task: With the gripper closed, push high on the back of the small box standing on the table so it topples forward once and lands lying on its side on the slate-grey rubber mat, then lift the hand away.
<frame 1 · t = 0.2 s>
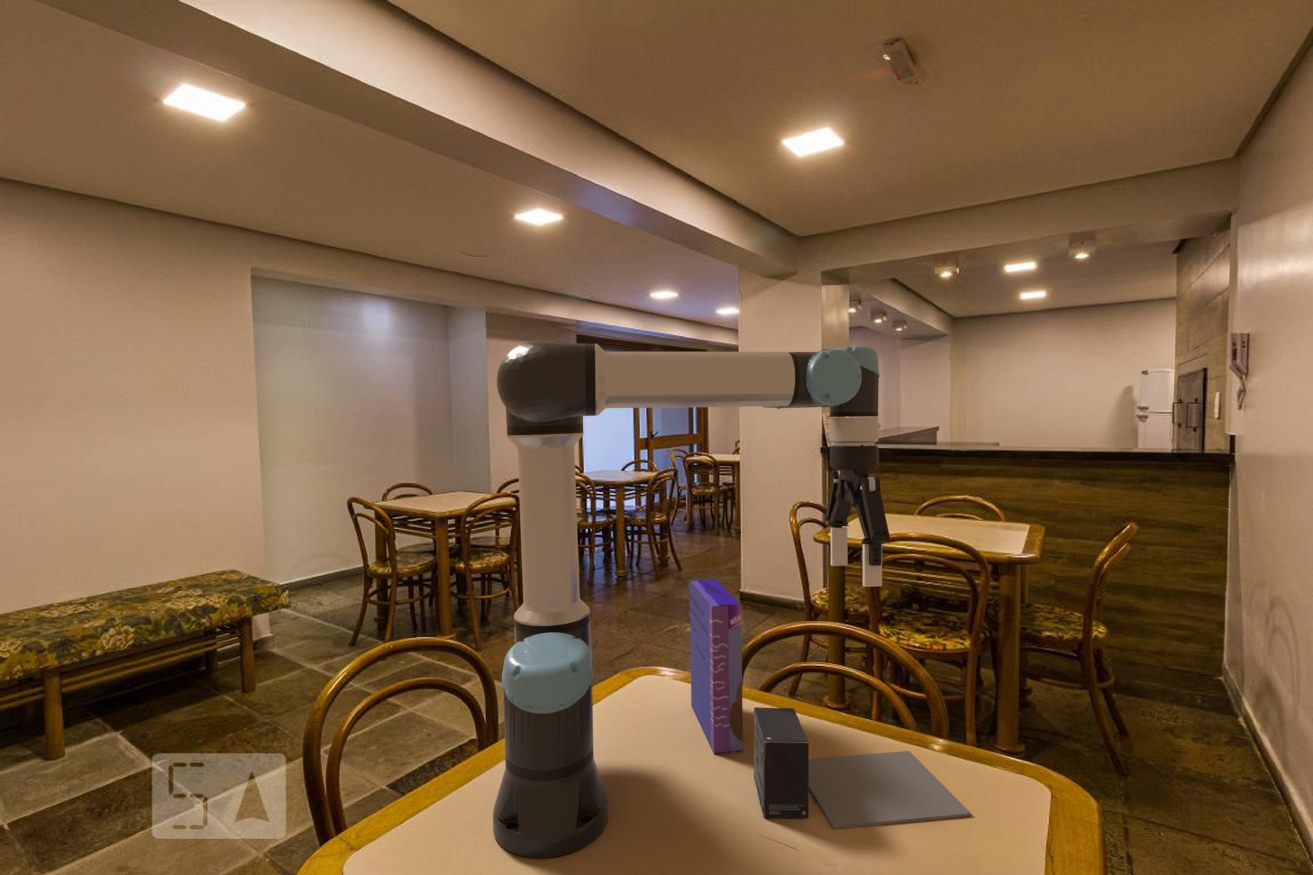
hand: (854, 575, 103), 28 cm above the table, tool pointing down, fingers open, 13 cm apart
cereal box: (715, 728, 110), on the table
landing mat: (875, 787, 91), on the table
small box: (780, 797, 89), on the table
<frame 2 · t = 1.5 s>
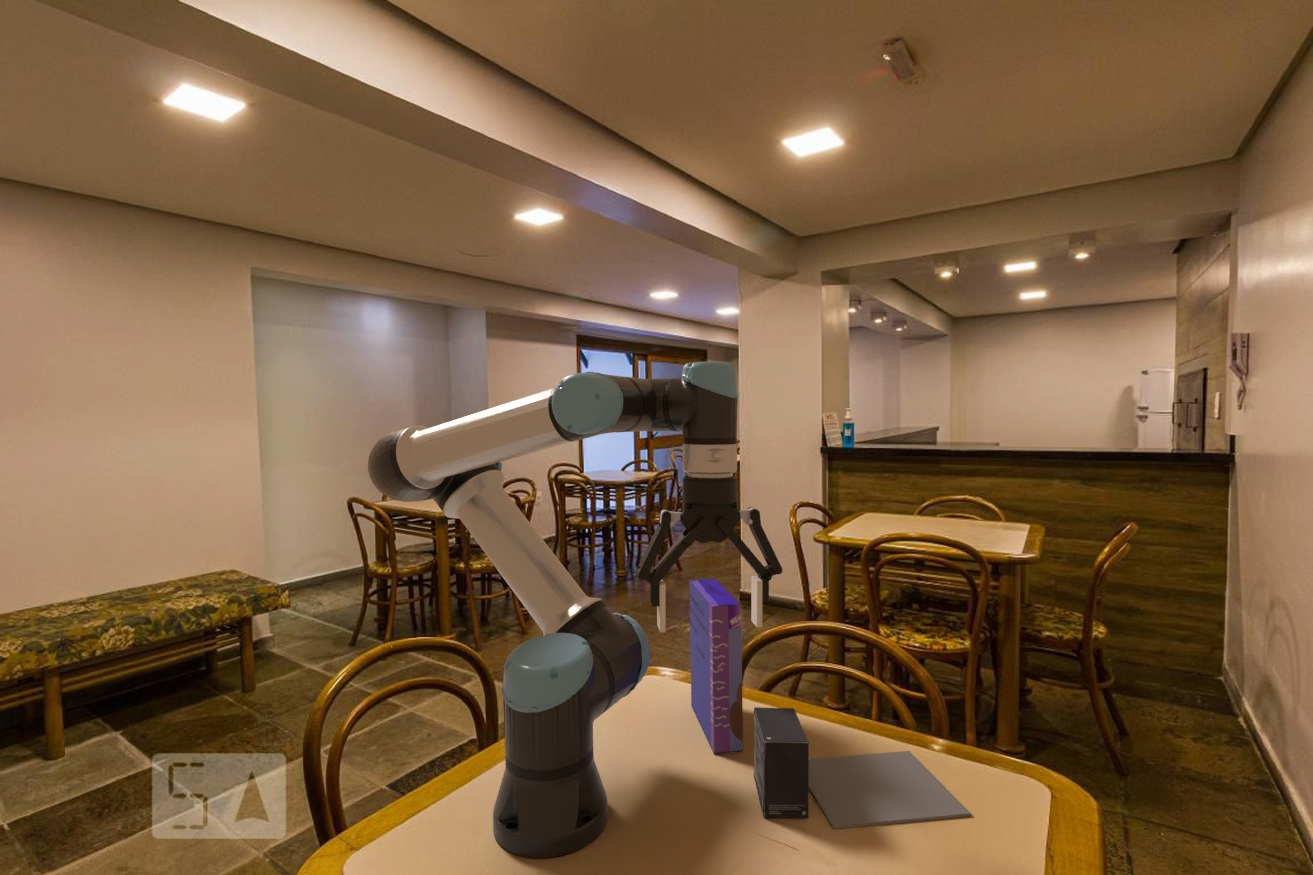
hand: (709, 626, 88), 24 cm above the table, tool pointing down, fingers open, 13 cm apart
nothing on the table moved.
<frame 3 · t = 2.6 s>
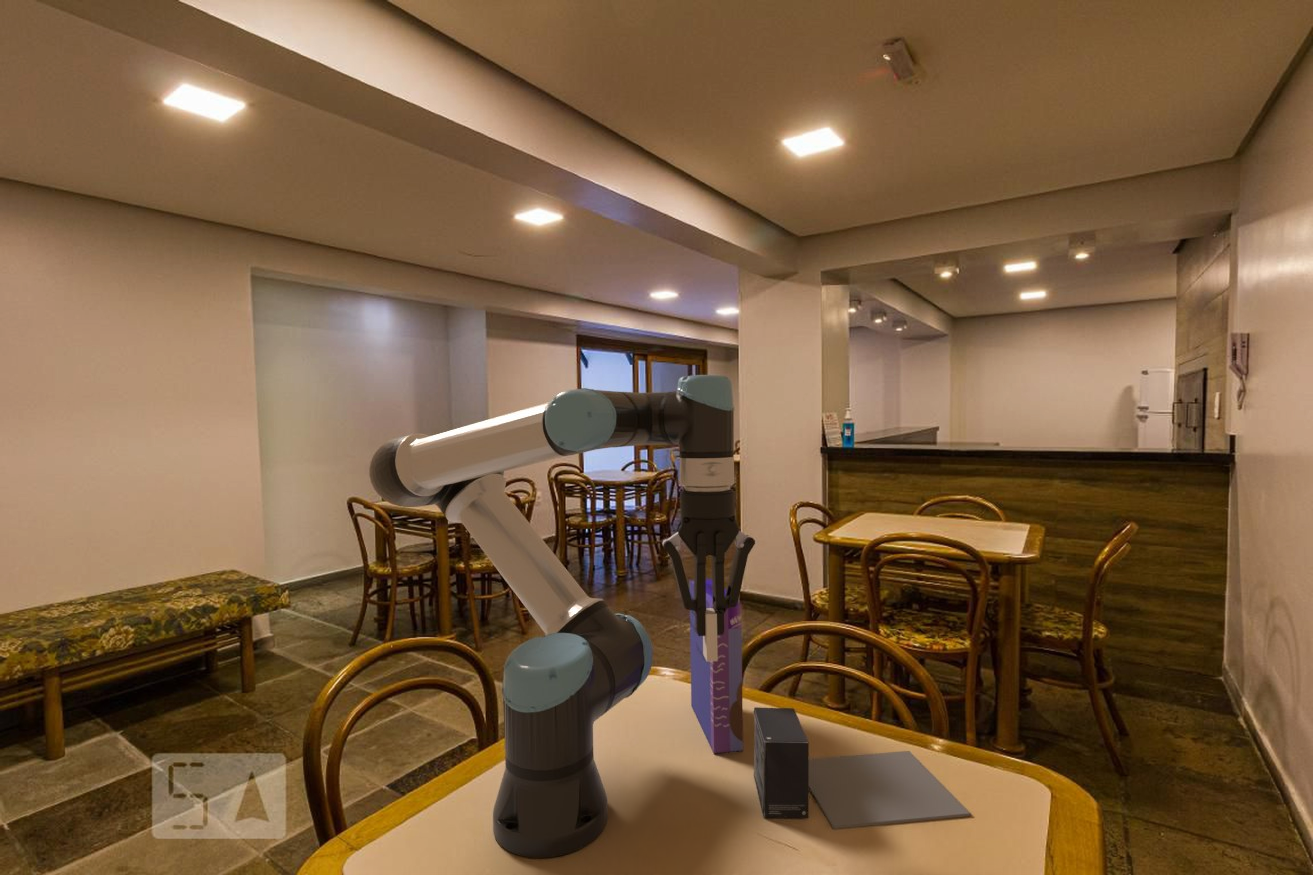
hand: (710, 657, 88), 20 cm above the table, tool pointing down, fingers closed
nothing on the table moved.
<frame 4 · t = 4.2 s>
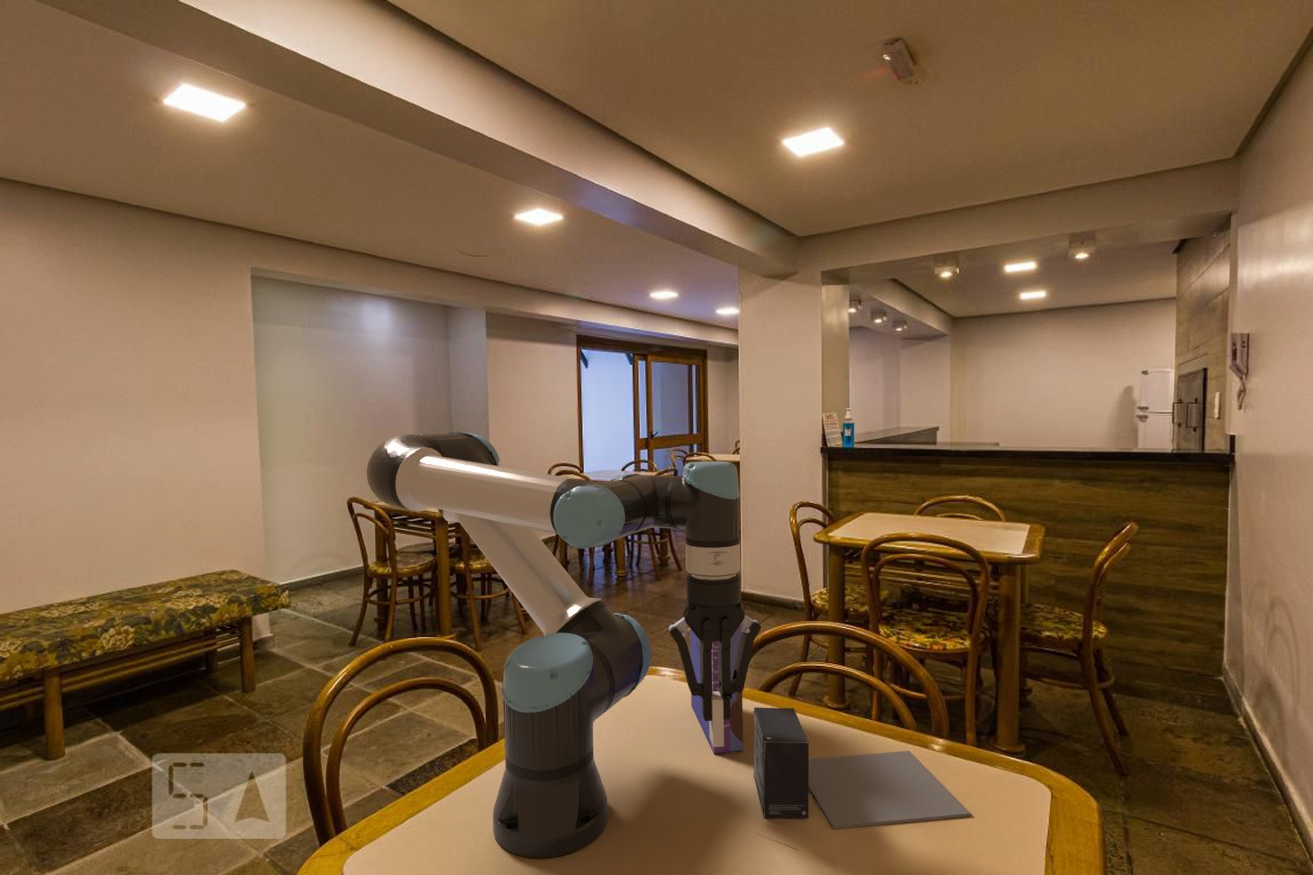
hand: (716, 741, 88), 9 cm above the table, tool pointing down, fingers closed
nothing on the table moved.
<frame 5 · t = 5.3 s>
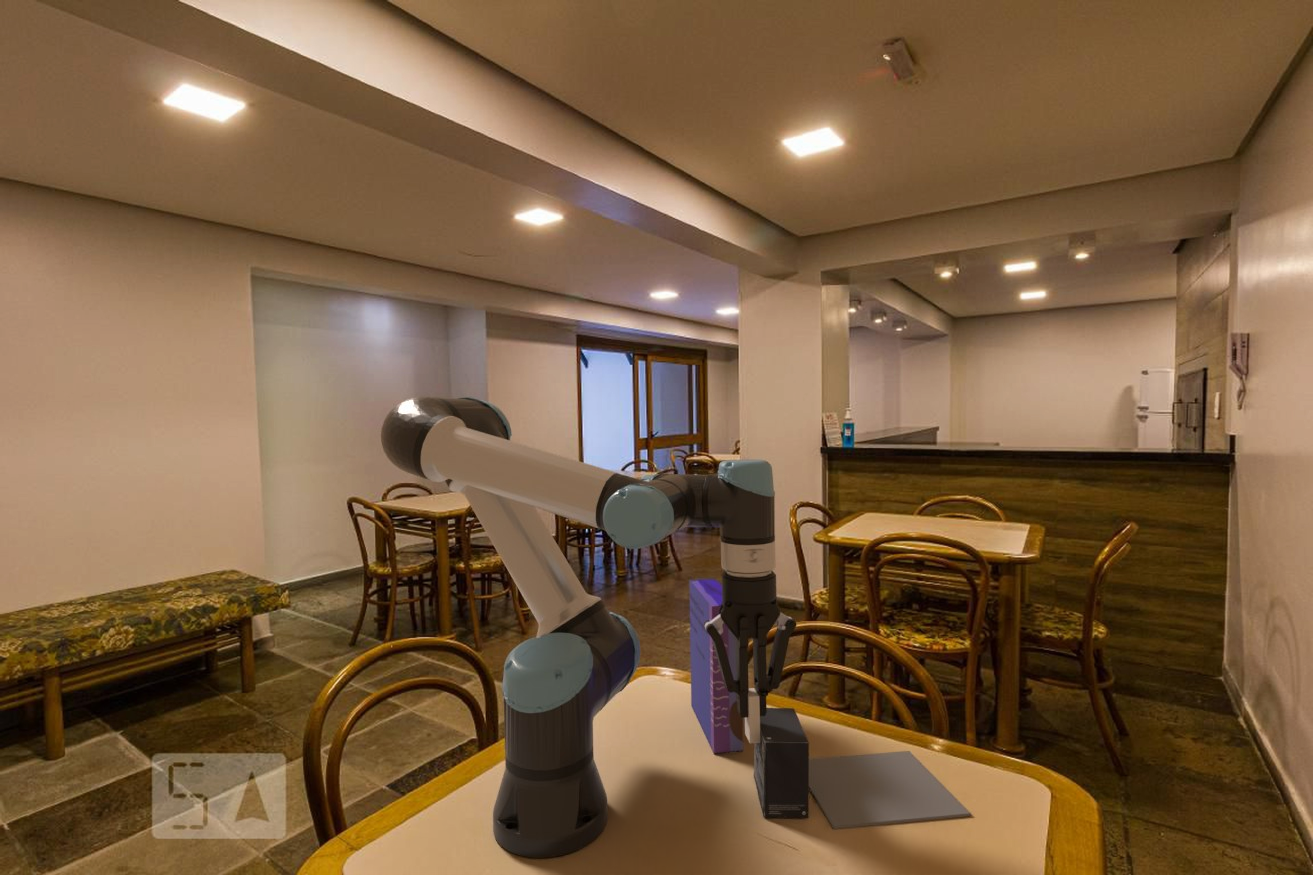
hand: (752, 738, 89), 9 cm above the table, tool pointing down, fingers closed
small box: (780, 797, 89), on the table, touching gripper
everything else where it was.
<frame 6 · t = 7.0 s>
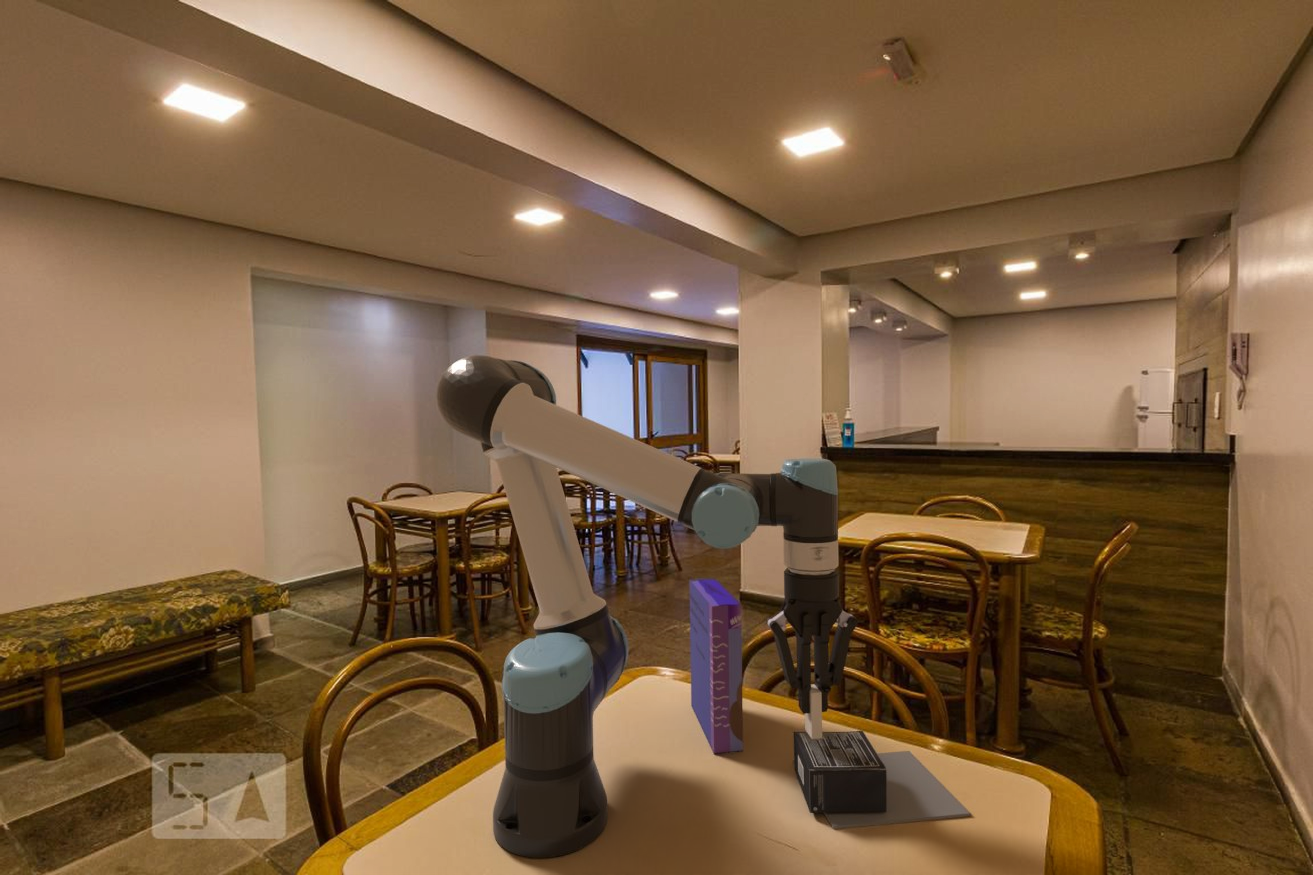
hand: (813, 733, 90), 9 cm above the table, tool pointing down, fingers closed
small box: (799, 771, 89), point 3 cm above the table, touching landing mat
everything else where it was.
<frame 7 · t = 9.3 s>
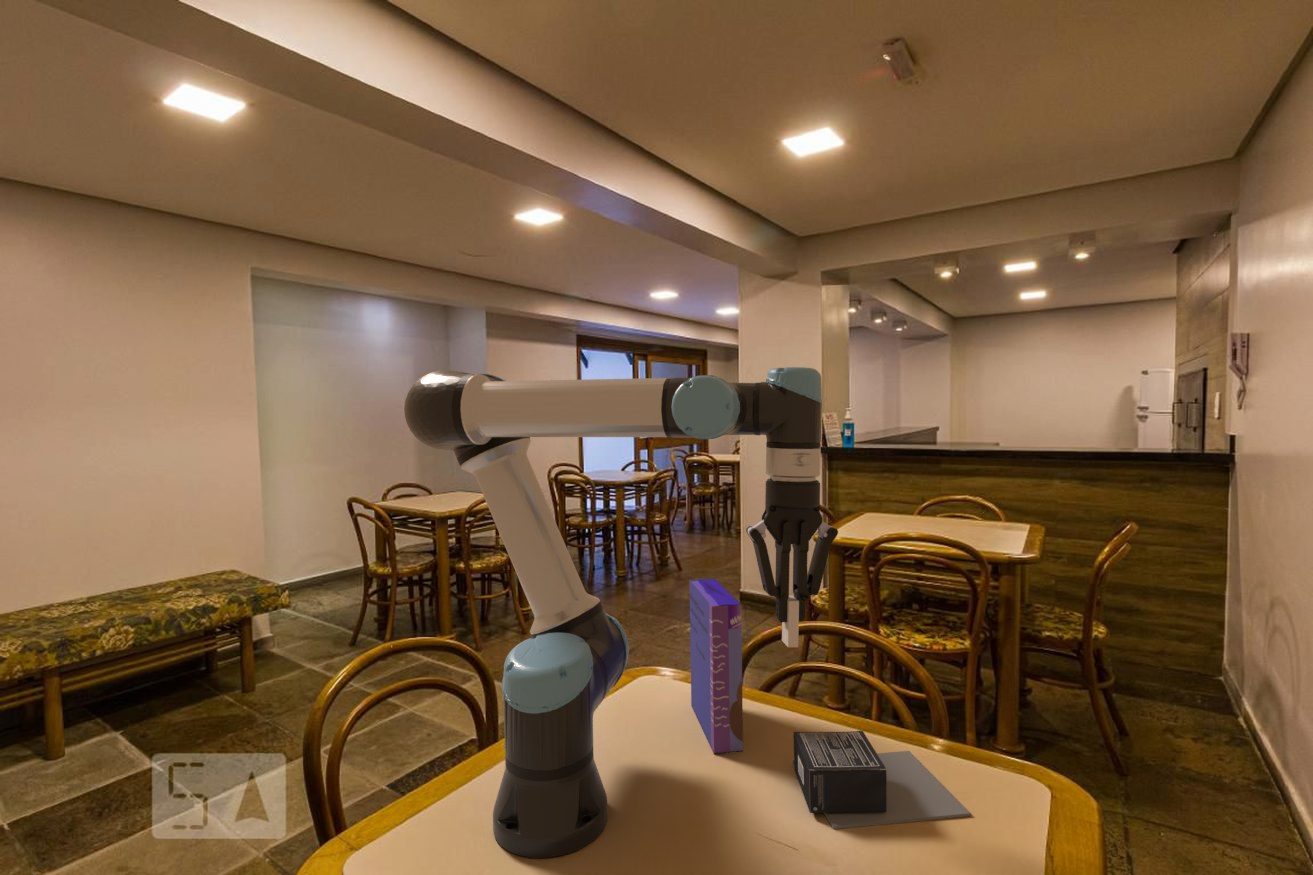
hand: (789, 643, 90), 21 cm above the table, tool pointing down, fingers closed
nothing on the table moved.
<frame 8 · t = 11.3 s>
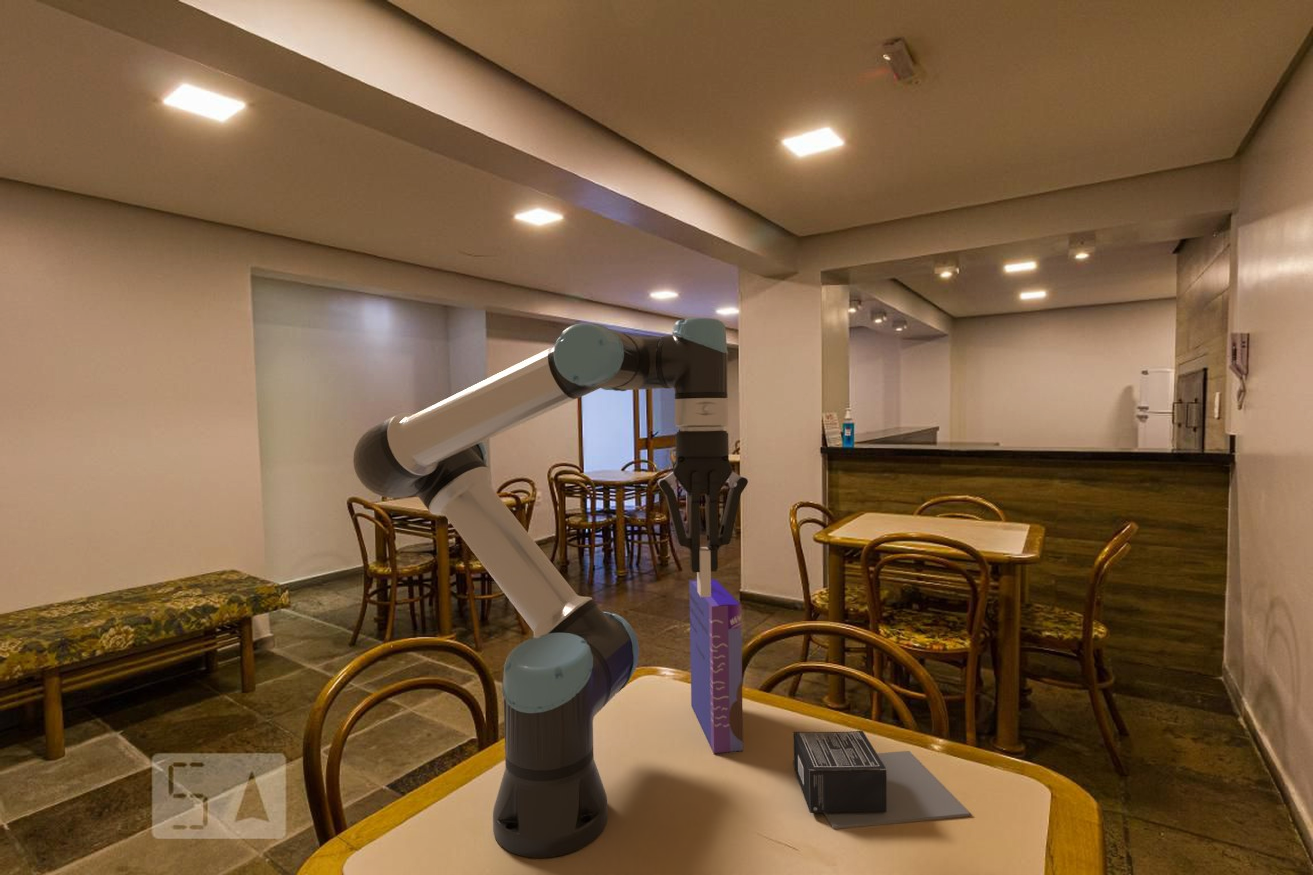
hand: (704, 593, 91), 28 cm above the table, tool pointing down, fingers closed
nothing on the table moved.
at the end: small box tilted 89°; small box touching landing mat; small box inside the target area (6.4 cm from its centre), point 3.5 cm above the table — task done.
